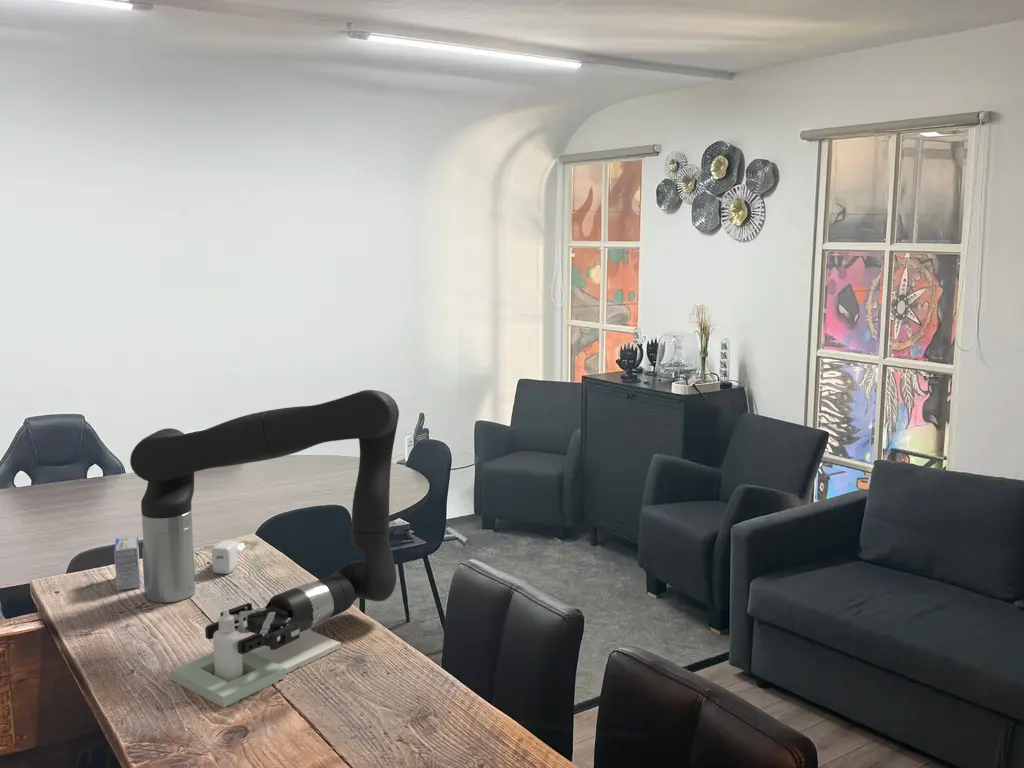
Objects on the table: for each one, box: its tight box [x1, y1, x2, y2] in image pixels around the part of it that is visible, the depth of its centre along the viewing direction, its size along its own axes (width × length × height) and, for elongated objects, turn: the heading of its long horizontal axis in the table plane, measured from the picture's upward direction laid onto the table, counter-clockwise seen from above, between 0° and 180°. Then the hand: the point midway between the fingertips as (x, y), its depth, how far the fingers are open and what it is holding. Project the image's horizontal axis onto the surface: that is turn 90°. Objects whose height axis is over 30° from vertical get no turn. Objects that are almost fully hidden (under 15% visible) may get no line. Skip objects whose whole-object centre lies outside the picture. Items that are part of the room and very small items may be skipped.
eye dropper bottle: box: [212, 608, 244, 682], centre depth 150 cm, size 4×6×12 cm
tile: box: [250, 629, 342, 674], centre depth 161 cm, size 12×12×1 cm
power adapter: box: [211, 539, 247, 575], centre depth 200 cm, size 11×5×6 cm, turn 175°
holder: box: [170, 651, 287, 708], centre depth 151 cm, size 14×12×2 cm
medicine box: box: [113, 535, 141, 591], centre depth 189 cm, size 8×4×9 cm, turn 22°
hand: (222, 640), depth 149 cm, fingers open, 8 cm apart
